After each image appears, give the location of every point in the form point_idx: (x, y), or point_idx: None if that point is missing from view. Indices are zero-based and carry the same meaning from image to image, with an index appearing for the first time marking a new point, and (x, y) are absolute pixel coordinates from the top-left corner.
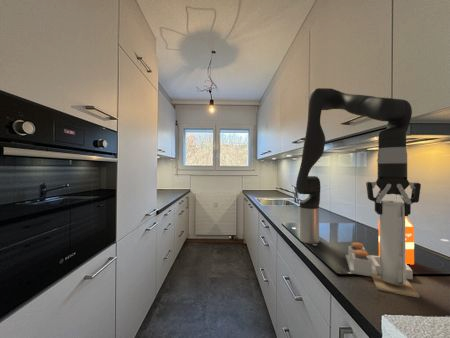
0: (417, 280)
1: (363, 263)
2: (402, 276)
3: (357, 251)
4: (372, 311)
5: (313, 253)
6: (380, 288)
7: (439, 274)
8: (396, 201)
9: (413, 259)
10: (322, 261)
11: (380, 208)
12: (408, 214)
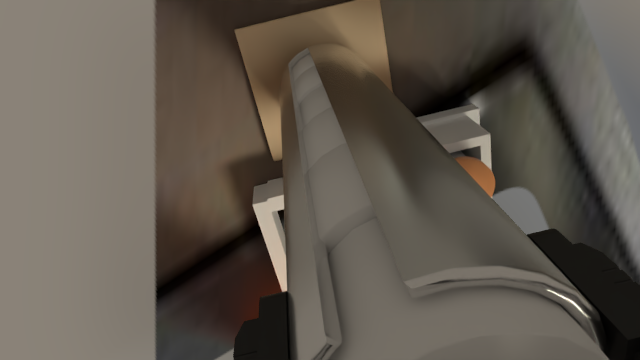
0: (238, 189)
1: (440, 137)
2: (291, 72)
3: (481, 184)
4: None
5: (610, 219)
6: (369, 1)
7: (172, 286)
8: None
9: None
10: (579, 156)
11: (578, 275)
12: (256, 319)
